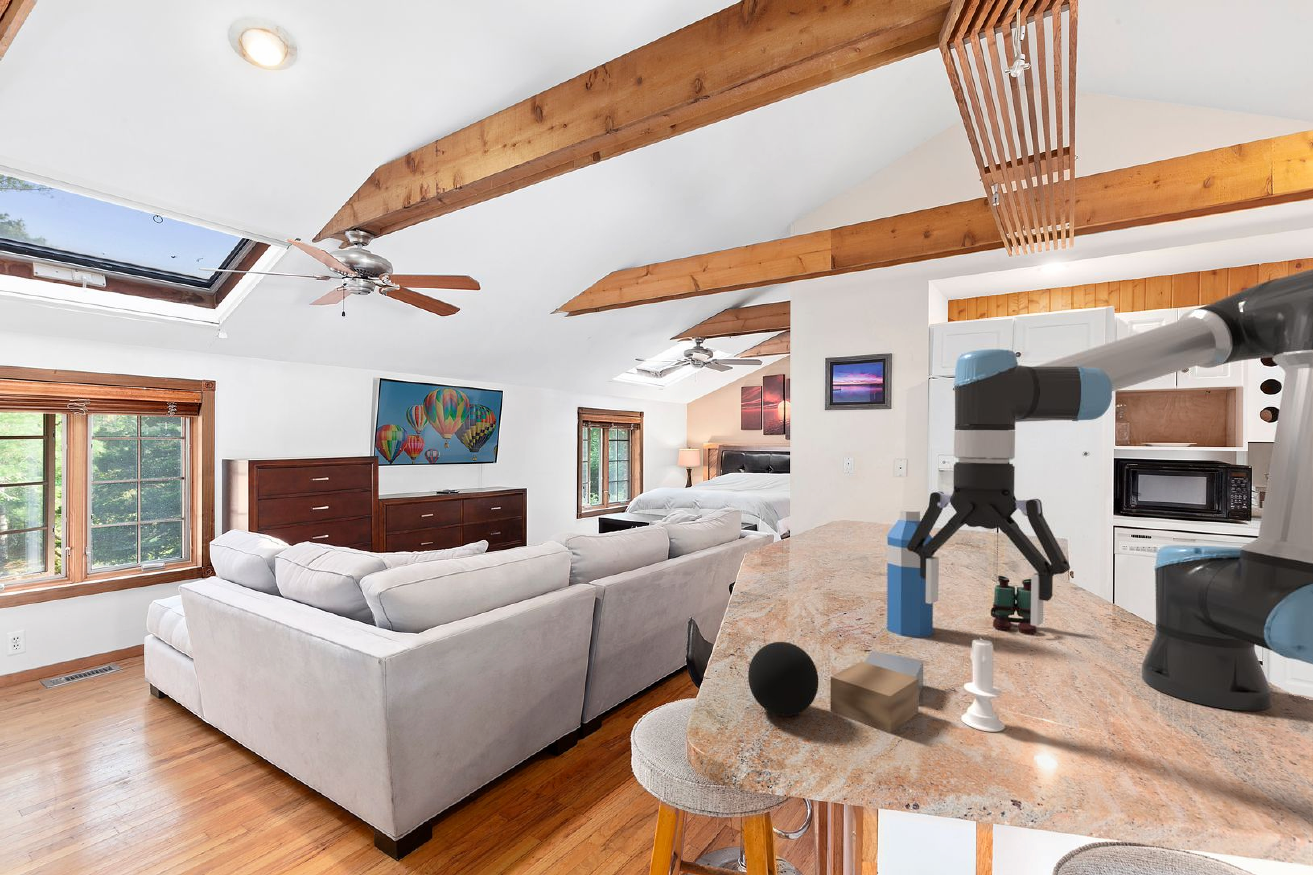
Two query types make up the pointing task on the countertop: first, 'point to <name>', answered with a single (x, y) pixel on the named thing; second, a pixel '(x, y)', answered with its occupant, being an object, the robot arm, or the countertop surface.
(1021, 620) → the binoculars
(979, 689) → the candle
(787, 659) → the decorative ball
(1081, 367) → the robot arm
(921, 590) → the water bottle
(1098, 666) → the countertop surface
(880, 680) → the walnut block
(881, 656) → the slate block
